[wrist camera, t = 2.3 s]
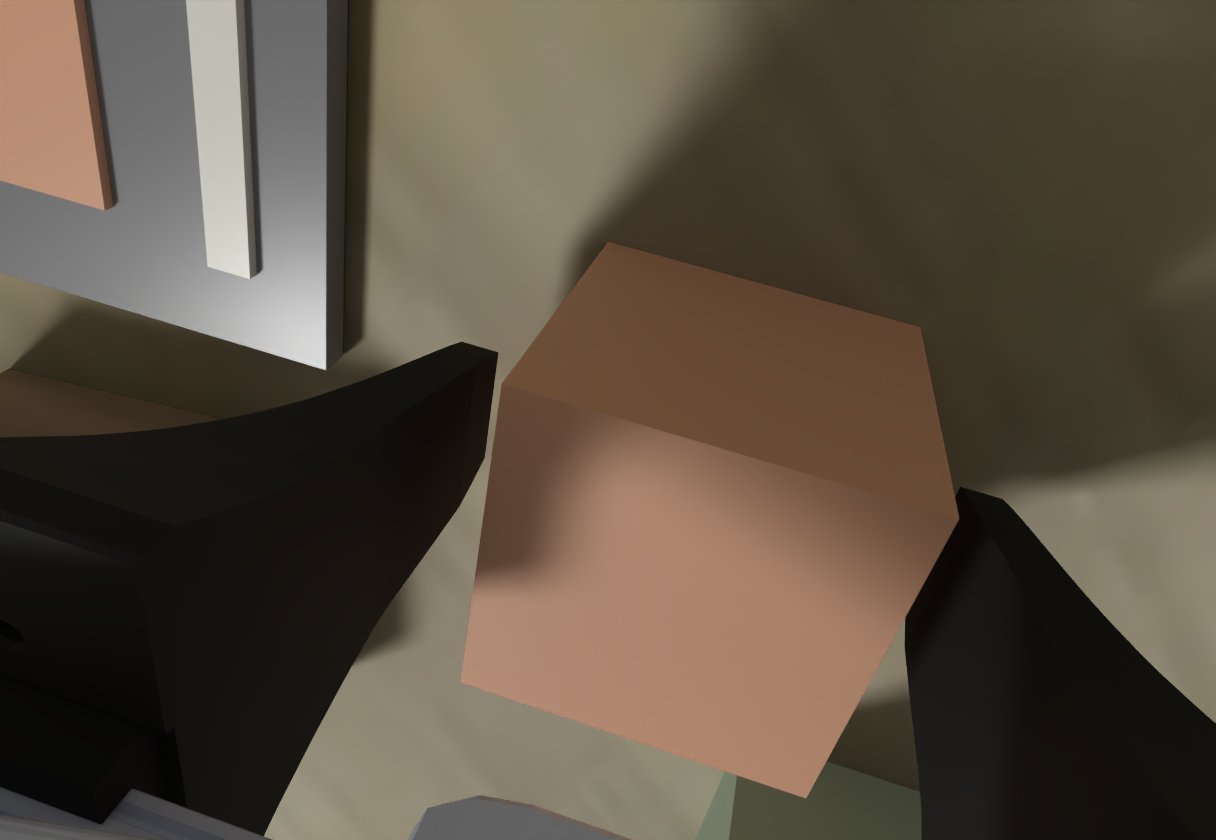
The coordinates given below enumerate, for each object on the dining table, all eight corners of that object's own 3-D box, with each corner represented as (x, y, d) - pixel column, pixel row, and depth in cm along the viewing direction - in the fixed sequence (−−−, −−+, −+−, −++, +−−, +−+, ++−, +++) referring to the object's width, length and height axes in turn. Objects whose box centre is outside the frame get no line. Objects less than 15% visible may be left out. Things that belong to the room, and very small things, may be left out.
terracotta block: (815, 562, 15) (805, 797, 11) (560, 484, 16) (460, 682, 12) (919, 325, 13) (958, 519, 8) (608, 240, 13) (501, 384, 9)
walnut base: (337, 665, 21) (254, 786, 18) (91, 598, 22) (-25, 702, 19) (313, 431, 17) (204, 535, 14) (19, 363, 18) (-140, 447, 15)
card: (342, 356, 15) (319, 375, 15) (-119, 218, 16) (-161, 230, 16) (350, -158, 11) (318, -164, 10) (-275, -300, 12) (-341, -314, 12)
